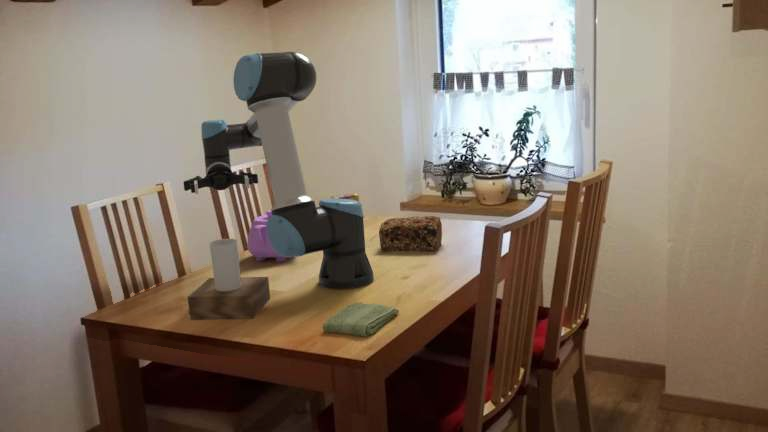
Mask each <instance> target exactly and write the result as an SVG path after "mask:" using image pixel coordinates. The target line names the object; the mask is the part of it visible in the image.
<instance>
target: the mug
mask: <svg viewBox="0 0 768 432" xmlns="http://www.w3.org/2000/svg"><path fill="white" fill-rule="evenodd" d="M209 249H210V257H211V265H212V266H211V267H212V272H213V278H214V280H215V287H216V290H217V291H220V292H228V291H234V290H237V289H239V288H240V287H241V283H240V277H241V272H240V254H239V248H238V240H237V239H235V238H221V239H216V240H213V241H212V240H211V242H210V243H209Z"/></svg>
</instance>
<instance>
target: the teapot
mask: <svg viewBox="0 0 768 432" xmlns="http://www.w3.org/2000/svg"><path fill="white" fill-rule="evenodd" d="M271 216H272V212H271V209H268V210H266V211H265V214H263V215H260V216H257V217H255V218H254V220H253V221H252V223H251V226H250V229H249V231H248V236H247V243H246V245H247V250H248V252H249V253H250V254H251V255H252V256H253V257H255V260H254V261H255V262H262V261H265V260H266V258H275V261H276V262H277V263H282V262H286V261H287V259H286V257H283V256H281V255H280V254H278V253H277V251H275V249H274V248H273V247H272V245H271V243H270V241H269V238H268V235H267V228H266V227H267V221H268V219H269V218H270V217H271Z"/></svg>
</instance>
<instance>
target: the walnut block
mask: <svg viewBox="0 0 768 432" xmlns="http://www.w3.org/2000/svg"><path fill="white" fill-rule="evenodd" d="M269 282H270V281H269V276H240V283H241V287H240V288H239V289H237V290H234V291H228V292H220V291H217V290H216V287H215V280H214V277H209V278H207V279H206V280H205V281H204V282H203V283H202V284H201V285H199V286H198V287H197V288H196V289H195V290H193V291H192V293H190V294H189V295H188V296H187V303H188V311H189V312H188V313H189V320H190V321H216V320H217V321H218V320H219V321H220V320H223V321H227V320H230V321H231V320H254V319H255V317H256V316H257V315H258V314H259V312H260V311H261V310H262V309H263V308H264V307H265V305H266V304H267V303H268V302H269V301H270V299H271V295H270V292H271V291H270V284H269Z"/></svg>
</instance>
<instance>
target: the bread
mask: <svg viewBox="0 0 768 432" xmlns="http://www.w3.org/2000/svg"><path fill="white" fill-rule="evenodd" d="M442 224H443V223H442V221H441V218H440V217H439V216H435V215H424V216H409V217H397V218H396V217H394V218H388V219H386V220H384V222H381V224H380V227H379V230H378V237H379V245H380V246H379V247H380V250H381V251H382V252H431V251H432V252H433V251H437V250H438V249H440V247H441V246H442V237H443V231H442V230H443V228H442V226H443V225H442Z"/></svg>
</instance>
